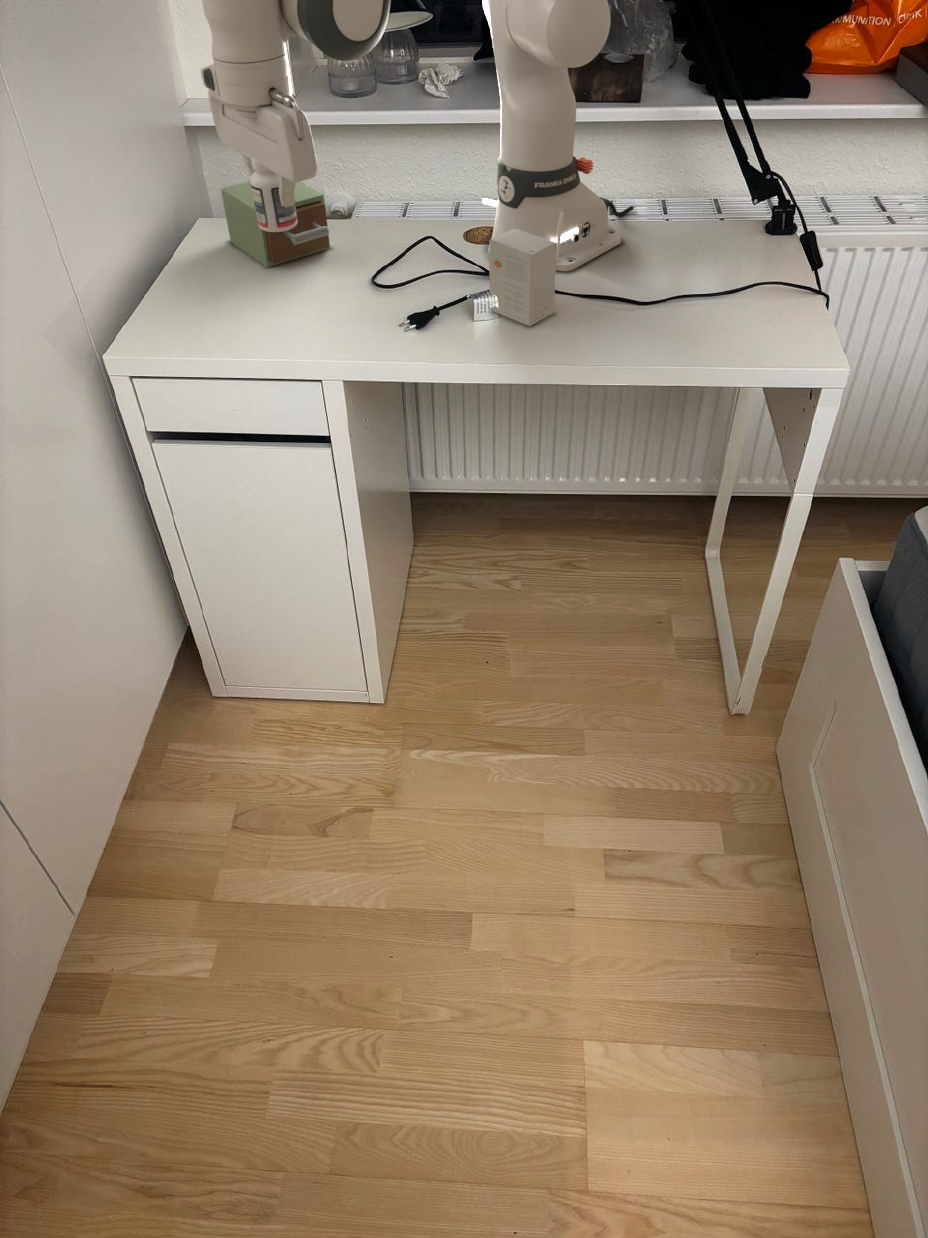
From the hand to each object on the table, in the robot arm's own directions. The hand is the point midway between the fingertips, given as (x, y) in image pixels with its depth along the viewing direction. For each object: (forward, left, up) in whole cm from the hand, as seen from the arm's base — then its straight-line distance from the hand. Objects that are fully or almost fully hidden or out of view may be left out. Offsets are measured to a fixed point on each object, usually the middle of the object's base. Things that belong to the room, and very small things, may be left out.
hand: (273, 197), depth 121 cm
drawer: (-12, -20, -16) cm, 28 cm away
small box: (-28, +19, -17) cm, 38 cm away
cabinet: (-12, -24, -17) cm, 32 cm away
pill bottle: (0, 0, -4) cm, 4 cm away
